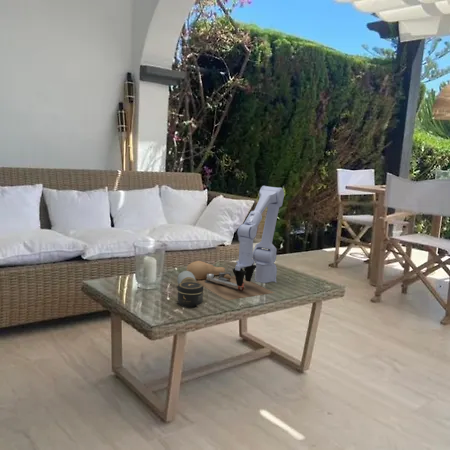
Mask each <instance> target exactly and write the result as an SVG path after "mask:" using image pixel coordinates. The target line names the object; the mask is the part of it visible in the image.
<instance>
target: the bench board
mask: <svg viewBox="0 0 450 450" xmlns="http://www.w3.org/2000/svg"><path fill="white" fill-rule="evenodd" d="M226 274H229V275H230V276H231V279H230V280H229V282H231V283H235V284H237V282H236V277H235V275H232V273H231V272H229V271H227V272H226V271H225V272H224V273H219V275H218V277H216V278H217V279H219V278H221V277H222V278H224V275H226ZM196 282H198V283H201V284H202V285H203V288H205V289H206V290H208V291H210V292H211V293H213V294H215V295H217V296H219V297H220V298H222V299H224V300H226V301H231V300H232V301H233V300H237V299H238V300H239V299H244V298H250V297H257V296H258V297H259V296H262V295H264V296H265V295H269V294H270V295H271V294H275V292H274V291H272V290H270V289H268V288H266V287H263V286H262V285H260V284H257V283H256V282H253V281H252V280H251V281H250V282H249V281H246V280H245V277H244V279H243V282H244V290H238V289H237V288H233V287H230V286H226V285H223V284H219V283H216V282H208V281H206V279H200V280H196Z"/></svg>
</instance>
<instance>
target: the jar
mask: <svg viewBox="0 0 450 450" xmlns="http://www.w3.org/2000/svg"><path fill="white" fill-rule="evenodd" d="M203 296H204V287H203V285H202V284H201V283H198V282H182V283H180V284H177V302H178V304H179V305H180V306H182V307H184V308H196V307H198V305H200V304H202V303H203Z"/></svg>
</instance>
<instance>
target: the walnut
mask: <svg viewBox="0 0 450 450" xmlns="http://www.w3.org/2000/svg"><path fill="white" fill-rule="evenodd" d="M231 276H232V275H231ZM231 276H230V275H229V274H226V275H224V278H226V279H229V280H230V279H231Z"/></svg>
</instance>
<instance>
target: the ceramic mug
mask: <svg viewBox="0 0 450 450" xmlns="http://www.w3.org/2000/svg"><path fill="white" fill-rule="evenodd" d="M176 281H177V285H179V284H180V283H182V282H196V281H197V280H196V279H195V277H194V275H193V274H192V273H191V272H189V271H186V270H183V271H181V272H179V274H178V276H177V279H176Z"/></svg>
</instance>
